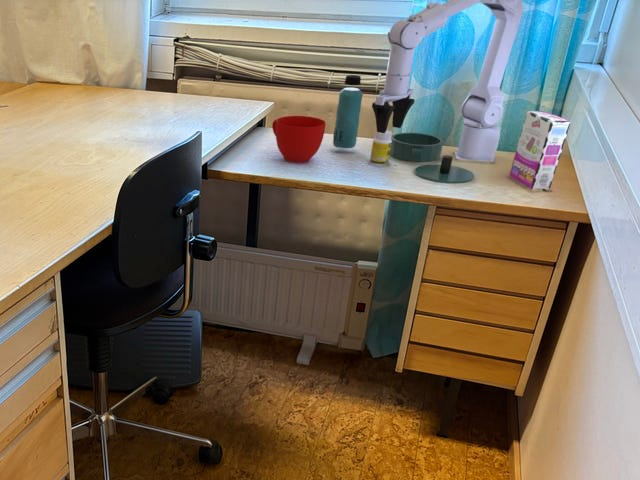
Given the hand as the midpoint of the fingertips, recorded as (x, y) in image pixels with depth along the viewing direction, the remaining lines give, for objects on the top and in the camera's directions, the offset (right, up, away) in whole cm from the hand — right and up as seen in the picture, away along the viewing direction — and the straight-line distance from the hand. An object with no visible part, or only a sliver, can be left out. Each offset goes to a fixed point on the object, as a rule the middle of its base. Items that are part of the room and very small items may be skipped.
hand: (388, 129), depth 182 cm
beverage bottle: (-8, -1, +16) cm, 18 cm away
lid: (+13, -13, -4) cm, 18 cm away
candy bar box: (+32, -16, -9) cm, 37 cm away
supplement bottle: (-1, -7, +5) cm, 9 cm away
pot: (+10, -4, +11) cm, 15 cm away
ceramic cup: (-23, -5, +10) cm, 26 cm away
